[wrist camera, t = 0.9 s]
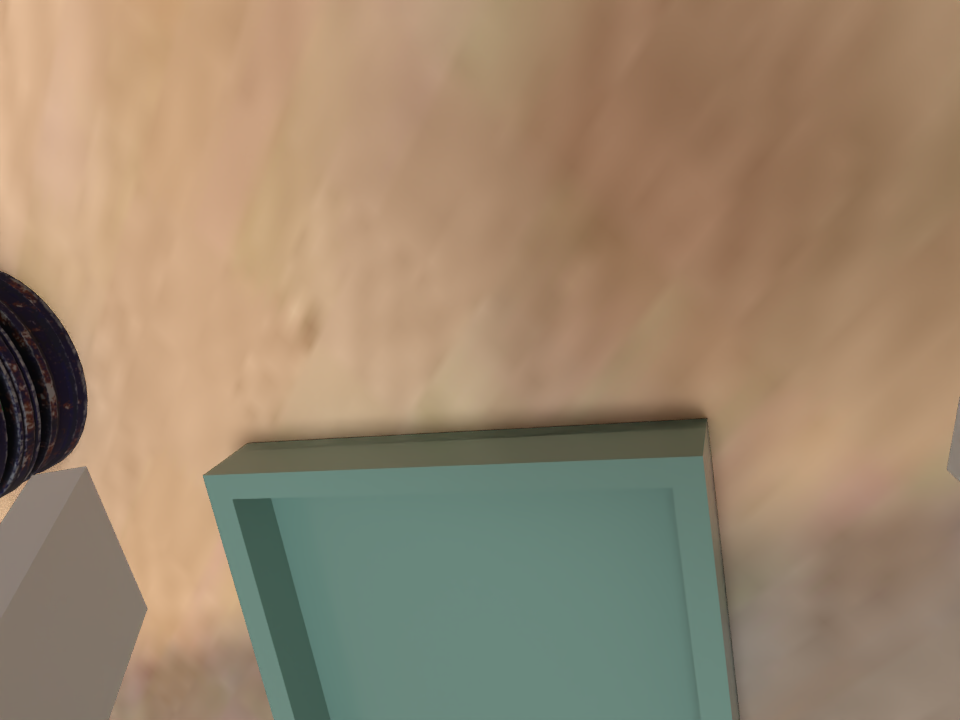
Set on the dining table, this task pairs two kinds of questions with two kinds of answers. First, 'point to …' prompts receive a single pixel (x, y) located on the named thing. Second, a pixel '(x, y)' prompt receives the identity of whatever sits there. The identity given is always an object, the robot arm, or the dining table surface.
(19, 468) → the dark blue ribbed cylinder
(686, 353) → the dining table surface
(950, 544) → the dining table surface
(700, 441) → the tray
